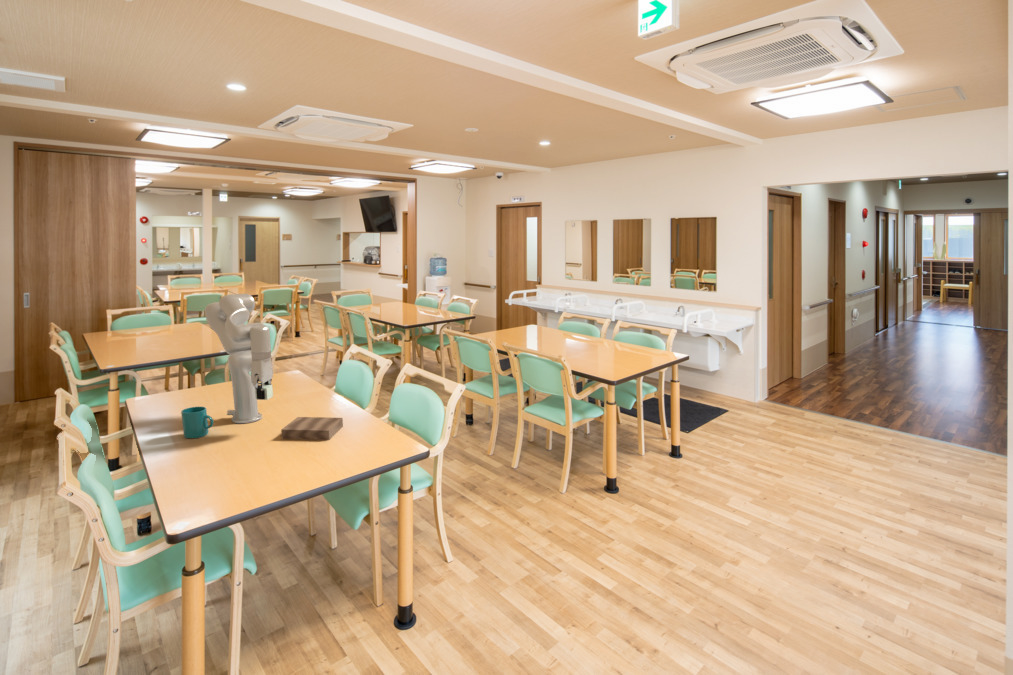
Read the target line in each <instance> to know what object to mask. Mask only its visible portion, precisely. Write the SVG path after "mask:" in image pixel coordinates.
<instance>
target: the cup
mask: <svg viewBox="0 0 1013 675" xmlns="http://www.w3.org/2000/svg"><path fill="white" fill-rule="evenodd" d="M180 414H181V421H182V423H181V424H182V430H183V432H182V433H183V437H184V438H185V439H188V438H195V439H199V437H201V438H203V436H204V437H206V436H207V435H208V434H209V431H210V430H209V429H211V428H212V427H213V425H214V422H215V421H214V419H213V418H212V416H210V415H208V413H207V408H206V407H205V406H191V407H188V408H184V409H181V412H180ZM208 420H209V421H210V424H209V423H208V422H209V421H208ZM205 435H206V436H205Z"/></svg>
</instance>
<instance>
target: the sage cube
mask: <svg viewBox="0 0 1013 675" xmlns="http://www.w3.org/2000/svg"><path fill="white" fill-rule="evenodd" d="M259 385H260V386H261V384H259ZM263 390H264V391H265V399H264V400H263V399H257V392H256V388H255V396H256V400H257V401H258V400H262V401H268V400H270V399H271V398H273V397H274V392H273V391H274V390H273V384H271V385H264V388H263Z"/></svg>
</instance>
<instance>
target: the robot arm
mask: <svg viewBox="0 0 1013 675" xmlns="http://www.w3.org/2000/svg"><path fill="white" fill-rule="evenodd" d="M255 308H256V301H255V298H254V297H253V295H251V294H249V293H232V294H226V295H224V296H221V297H220V299H219V301H216V302H211V303H209V304H208V303H207V305H206V306H205V307H204V317H205V318H206V319H205V320H206V322H207V323H208V326H209V327H210V328H211V329H212V330H213V332H215V334H216V335H217V336H218V339H219V341H220V344H221V345H222V347H223V349H224V350H225V352H226V353H227V354H228V355H229V356H228V357H227V365H228V369H229V373H230V377H231V384H232V386H231V387H232V396H233V407H234V409H227V412H226V415H227V416H232V417H231V422H232V423H235V424H248V423H254V422H257V421H260V420H261V419H262V418H263V414H262V413H260V412H259V408H258V400H256V396H255V388H256V392H257V399H263V400H262V401H265V400H264V399H265V391H264V390H263V388H264V385H272V381H273V375H274V373H273V372H274V371H273V362H272V349H271V348H272V347H271V335H270V334H271V331H270V328H269V326H267V325H265V324H264V323H262V322H253V323H252V322H251V323H246V322H248V321H249V318H250V315H251V313H252V312H253V311H254V310H255ZM260 385H261V386H260Z"/></svg>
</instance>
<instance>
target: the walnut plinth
mask: <svg viewBox="0 0 1013 675" xmlns="http://www.w3.org/2000/svg"><path fill="white" fill-rule="evenodd" d="M342 428H344V420H343V417H321V416H320V417H319V416H317V417H315V416H313V417H311V416H297V417H296V418H294V419H293V420H292V421H291V422H290V423H288V424H286V425H285V426H284V427H283V428H281V430H280V432H281V439H282V440H315V441H316V440H318V441H322V440H323V441H330V440H331V439H332V438H333V437H334V436H335V435H336V434H337V433H338V432H339V431H340V430H341V429H342Z"/></svg>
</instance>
